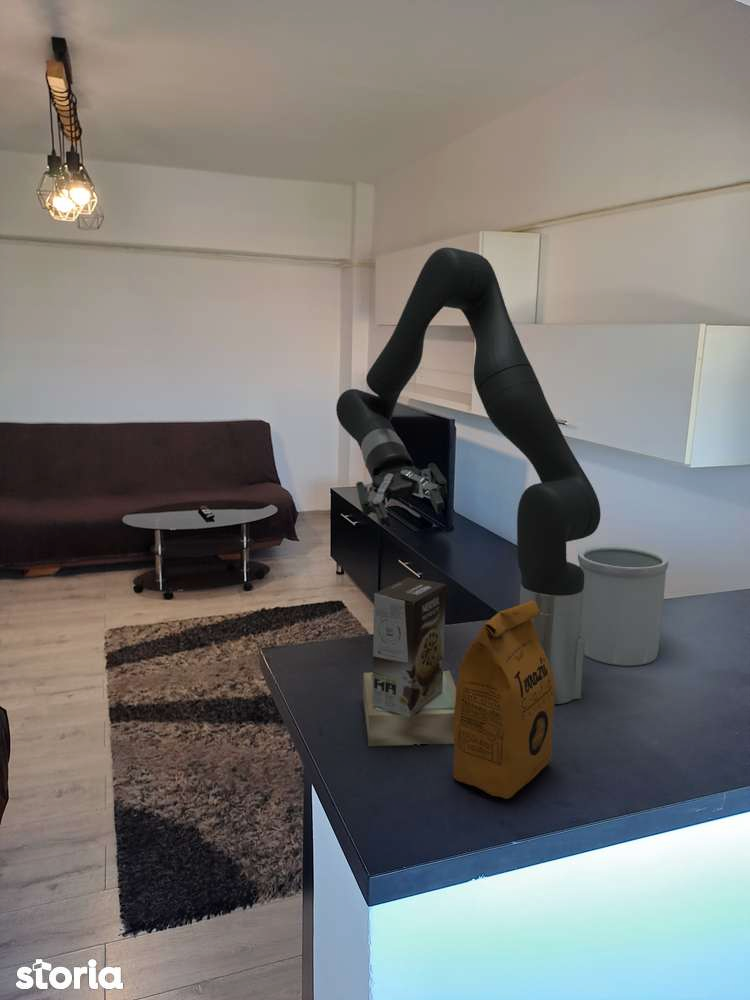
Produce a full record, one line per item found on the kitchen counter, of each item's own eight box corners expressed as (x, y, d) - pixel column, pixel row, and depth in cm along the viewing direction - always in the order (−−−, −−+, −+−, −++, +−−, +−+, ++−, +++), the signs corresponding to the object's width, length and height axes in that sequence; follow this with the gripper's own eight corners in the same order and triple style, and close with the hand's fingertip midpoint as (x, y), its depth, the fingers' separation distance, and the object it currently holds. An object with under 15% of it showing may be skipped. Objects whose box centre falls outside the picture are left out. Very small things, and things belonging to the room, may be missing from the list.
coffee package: (564, 771, 95) (575, 607, 91) (506, 813, 87) (516, 634, 82) (499, 741, 102) (507, 587, 98) (440, 777, 94) (446, 611, 89)
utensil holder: (554, 647, 133) (561, 553, 130) (602, 627, 143) (609, 538, 139) (629, 676, 122) (638, 573, 119) (675, 652, 132) (685, 556, 128)
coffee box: (411, 718, 98) (413, 602, 95) (370, 705, 102) (371, 592, 98) (444, 692, 106) (448, 583, 102) (405, 680, 109) (407, 574, 106)
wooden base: (448, 698, 114) (449, 669, 113) (464, 743, 102) (465, 710, 101) (363, 700, 113) (363, 670, 112) (368, 746, 101) (368, 713, 100)
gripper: (343, 451, 126) (366, 509, 114) (424, 431, 128) (455, 486, 116) (350, 486, 131) (372, 545, 119) (427, 466, 133) (458, 522, 120)
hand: (413, 516), depth 117 cm, fingers open, 8 cm apart
